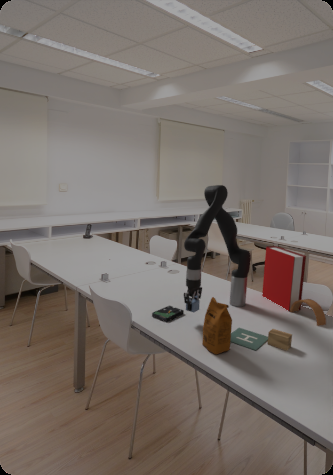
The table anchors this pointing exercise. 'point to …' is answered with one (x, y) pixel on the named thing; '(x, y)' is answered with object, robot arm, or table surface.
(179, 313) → the disk drive
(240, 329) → the letter board
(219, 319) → the coffee package
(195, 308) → the blue cube
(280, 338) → the block
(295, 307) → the arch
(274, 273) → the book
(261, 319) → the table surface
